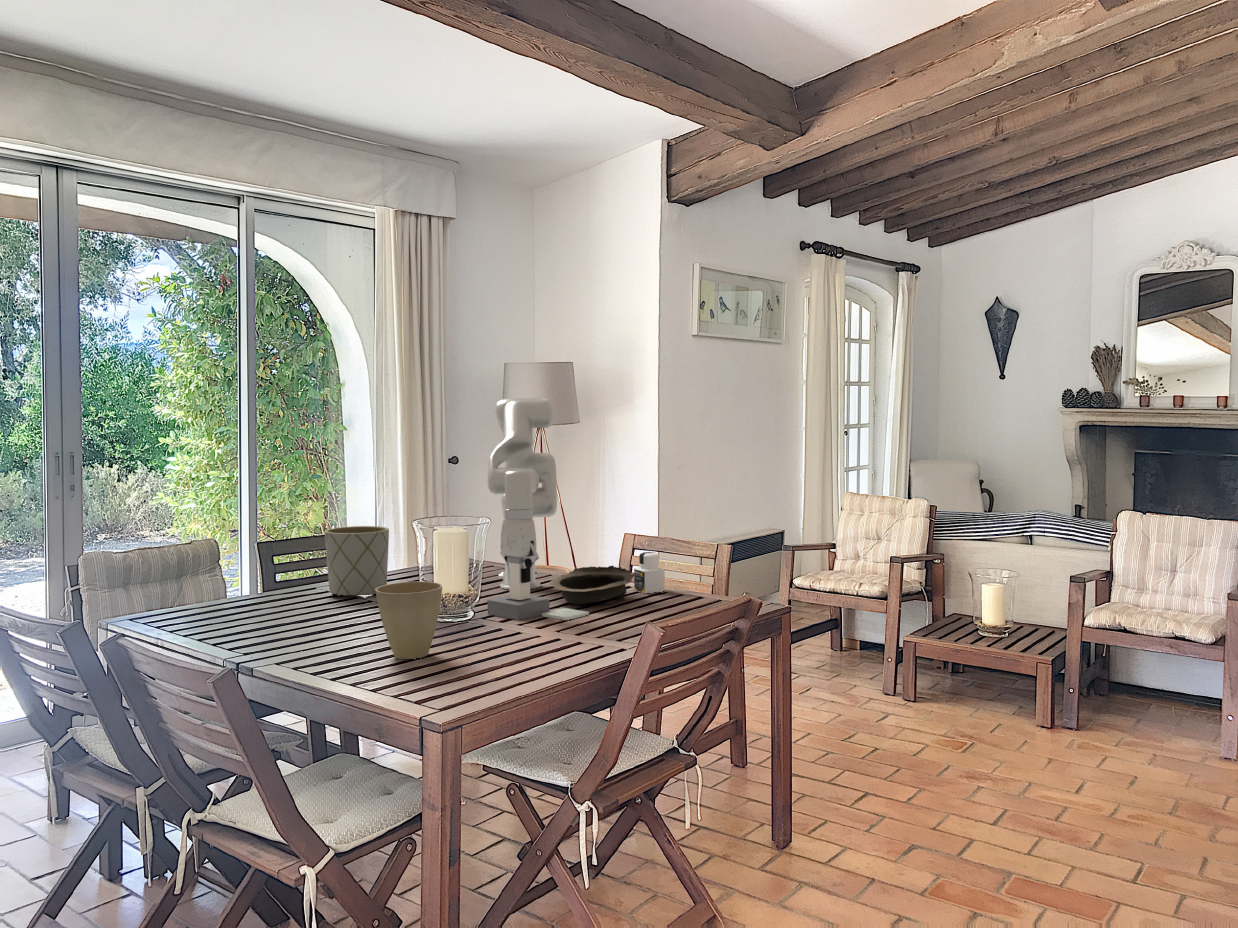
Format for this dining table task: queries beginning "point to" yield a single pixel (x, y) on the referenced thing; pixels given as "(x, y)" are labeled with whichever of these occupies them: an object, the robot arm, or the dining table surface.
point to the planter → (357, 559)
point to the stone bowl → (593, 584)
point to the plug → (517, 580)
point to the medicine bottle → (649, 574)
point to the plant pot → (409, 616)
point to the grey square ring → (518, 607)
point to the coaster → (565, 614)
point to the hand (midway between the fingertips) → (519, 580)
